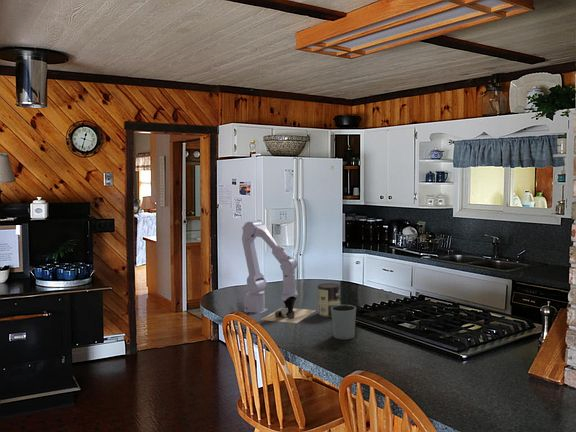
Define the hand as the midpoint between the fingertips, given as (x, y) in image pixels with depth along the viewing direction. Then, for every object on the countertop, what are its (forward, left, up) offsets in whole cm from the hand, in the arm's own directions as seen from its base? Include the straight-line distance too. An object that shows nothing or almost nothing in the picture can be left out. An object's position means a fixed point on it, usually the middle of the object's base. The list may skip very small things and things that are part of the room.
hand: (289, 312), depth 268 cm
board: (0, -1, -1) cm, 2 cm away
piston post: (0, -6, -1) cm, 6 cm away
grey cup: (+34, -23, -2) cm, 41 cm away
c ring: (0, -4, -1) cm, 4 cm away
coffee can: (+17, +7, -2) cm, 18 cm away
